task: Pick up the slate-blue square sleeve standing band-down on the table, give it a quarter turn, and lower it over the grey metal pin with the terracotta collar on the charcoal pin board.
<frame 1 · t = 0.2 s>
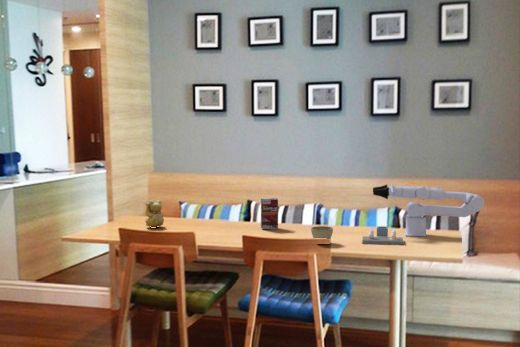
hand: (373, 191, 272), 21 cm above the table, tool horizontal, fingers open, 7 cm apart
sleeve: (382, 237, 265), on the table
decorative figurine: (155, 228, 298), on the table
supplement box: (269, 229, 290), on the table
flower pot: (322, 244, 253), on the table
pin board: (382, 242, 255), on the table
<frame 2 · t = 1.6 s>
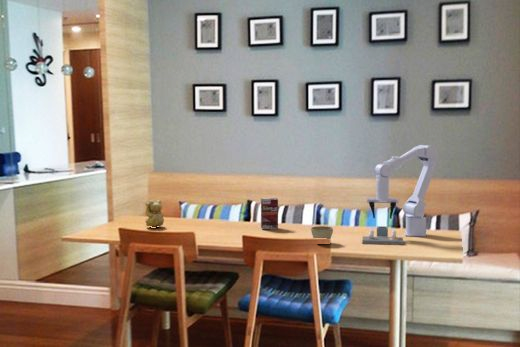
hand: (382, 218, 264), 9 cm above the table, tool pointing down, fingers open, 7 cm apart
nothing on the table moved.
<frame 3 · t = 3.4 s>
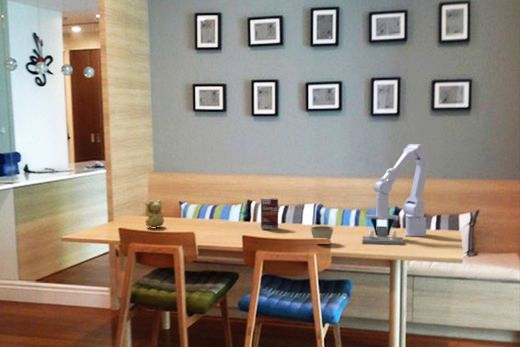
hand: (382, 234, 265), 1 cm above the table, tool pointing down, fingers closed on sleeve, 5 cm apart
sleeve: (382, 237, 265), on the table, touching gripper
everything else where it was.
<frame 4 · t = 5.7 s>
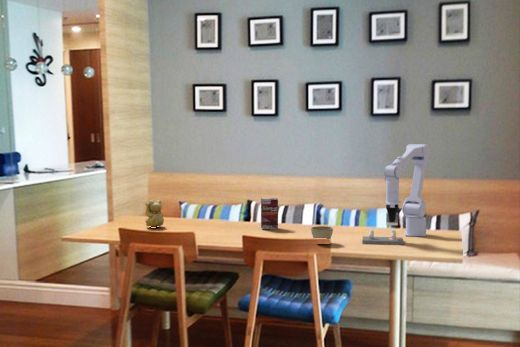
hand: (392, 221, 255), 9 cm above the table, tool pointing down, fingers closed on sleeve, 5 cm apart
sleeve: (392, 224, 255), point 8 cm above the table, touching gripper
everything else where it was.
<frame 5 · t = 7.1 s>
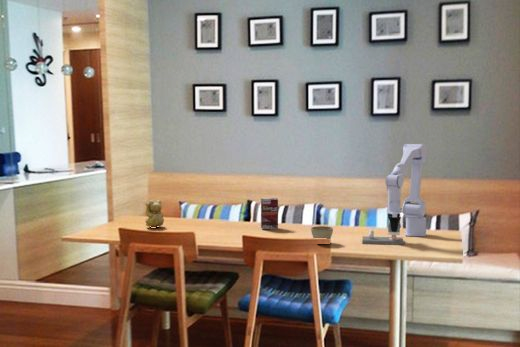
hand: (393, 230, 253), 5 cm above the table, tool pointing down, fingers closed on sleeve, 5 cm apart
sleeve: (393, 233, 254), point 4 cm above the table, touching gripper
everything else where it was.
when the fingers open (4 cm above the table, at t = 8.3 s): sleeve drops 1 cm, resting on pin board.
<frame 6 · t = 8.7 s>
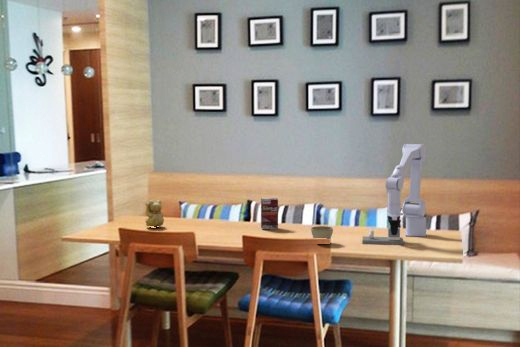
hand: (393, 233, 254), 4 cm above the table, tool pointing down, fingers open, 7 cm apart
sleeve: (393, 238, 254), point 2 cm above the table, touching pin board
everything else where it was.
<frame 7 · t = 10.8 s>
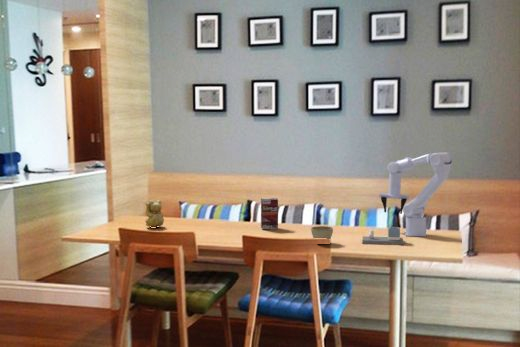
hand: (393, 212, 279), 10 cm above the table, tool pointing down, fingers open, 7 cm apart
nothing on the table moved.
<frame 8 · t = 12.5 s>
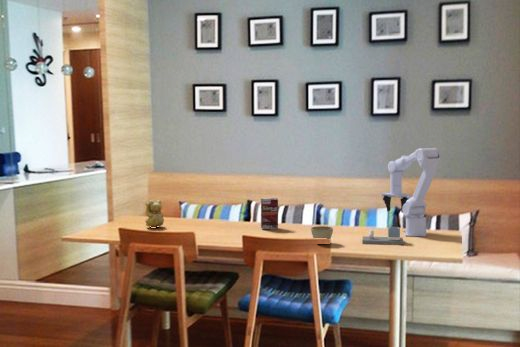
hand: (395, 211, 283), 9 cm above the table, tool pointing down, fingers open, 7 cm apart
nothing on the table moved.
at the end: sleeve 0.0 cm from the target spot on the pin board, point 1.7 cm above the pin board's base; sleeve tilted 0°; the gripper is holding nothing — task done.
